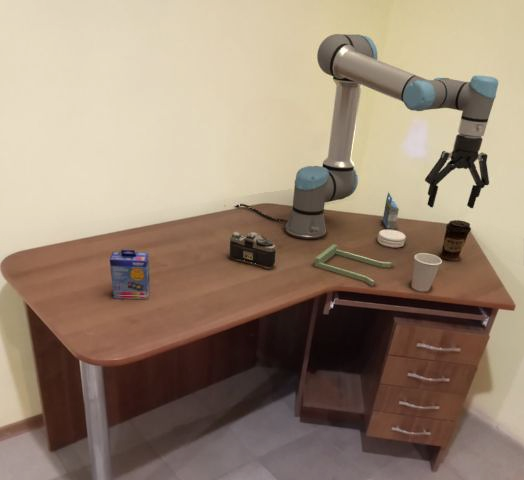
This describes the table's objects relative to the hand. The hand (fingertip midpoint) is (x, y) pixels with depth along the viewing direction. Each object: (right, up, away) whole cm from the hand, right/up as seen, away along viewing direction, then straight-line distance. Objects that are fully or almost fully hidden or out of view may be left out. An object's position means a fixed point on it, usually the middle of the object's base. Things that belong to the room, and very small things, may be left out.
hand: (450, 206), depth 164 cm
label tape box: (-8, +5, +47) cm, 48 cm away
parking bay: (-29, -18, +10) cm, 36 cm away
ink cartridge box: (-96, -30, -17) cm, 103 cm away
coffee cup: (+8, -12, +23) cm, 27 cm away
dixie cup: (-9, -26, +1) cm, 27 cm away
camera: (-62, -15, +9) cm, 65 cm away
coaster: (-11, -5, +31) cm, 33 cm away
